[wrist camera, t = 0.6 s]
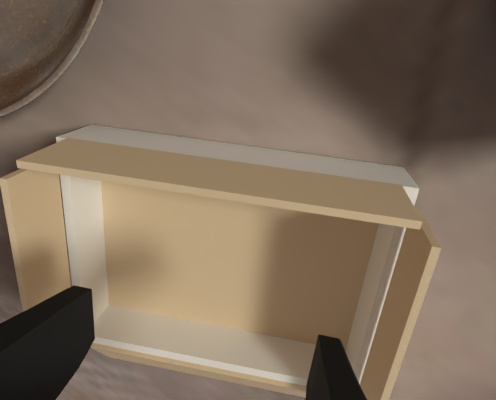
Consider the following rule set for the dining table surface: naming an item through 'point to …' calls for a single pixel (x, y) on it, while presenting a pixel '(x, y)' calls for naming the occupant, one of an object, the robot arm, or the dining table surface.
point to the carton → (227, 268)
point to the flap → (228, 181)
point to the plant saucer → (39, 45)
